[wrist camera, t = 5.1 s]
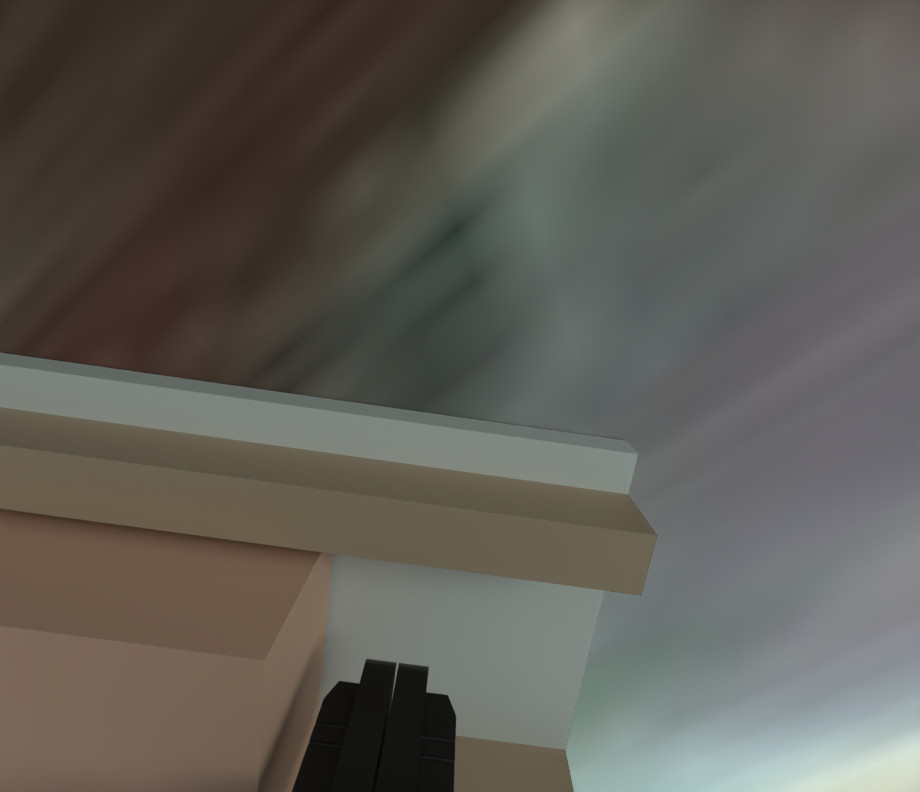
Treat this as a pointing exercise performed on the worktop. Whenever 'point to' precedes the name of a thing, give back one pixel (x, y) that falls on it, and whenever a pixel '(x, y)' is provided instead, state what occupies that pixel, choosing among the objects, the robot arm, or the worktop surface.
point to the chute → (365, 529)
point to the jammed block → (155, 658)
